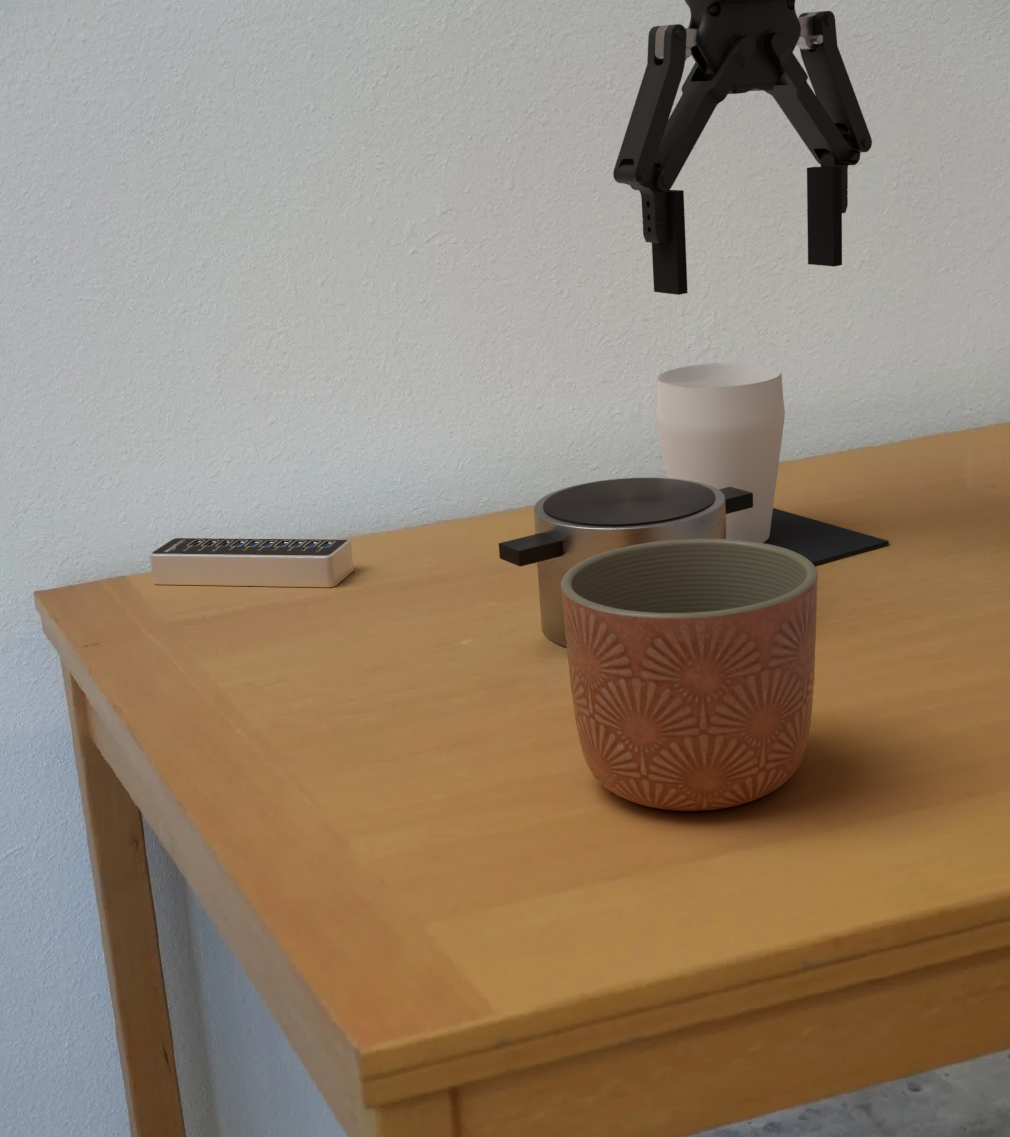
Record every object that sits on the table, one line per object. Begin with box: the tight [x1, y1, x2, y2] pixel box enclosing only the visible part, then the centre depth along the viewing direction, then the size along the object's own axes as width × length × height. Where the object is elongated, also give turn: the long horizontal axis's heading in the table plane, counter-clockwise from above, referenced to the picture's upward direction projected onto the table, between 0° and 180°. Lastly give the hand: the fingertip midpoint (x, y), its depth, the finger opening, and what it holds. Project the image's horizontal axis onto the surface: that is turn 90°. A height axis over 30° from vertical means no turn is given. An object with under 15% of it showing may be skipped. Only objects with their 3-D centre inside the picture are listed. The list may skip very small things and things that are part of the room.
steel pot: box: [498, 477, 753, 648], centre depth 108 cm, size 12×18×8 cm, turn 122°
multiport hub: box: [149, 537, 355, 588], centre depth 125 cm, size 4×14×2 cm, turn 74°
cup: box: [656, 361, 786, 543], centre depth 122 cm, size 9×9×12 cm
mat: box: [763, 507, 890, 566], centre depth 124 cm, size 14×14×1 cm
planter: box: [561, 539, 819, 812], centre depth 85 cm, size 12×12×11 cm
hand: (749, 279), depth 117 cm, fingers open, 13 cm apart
